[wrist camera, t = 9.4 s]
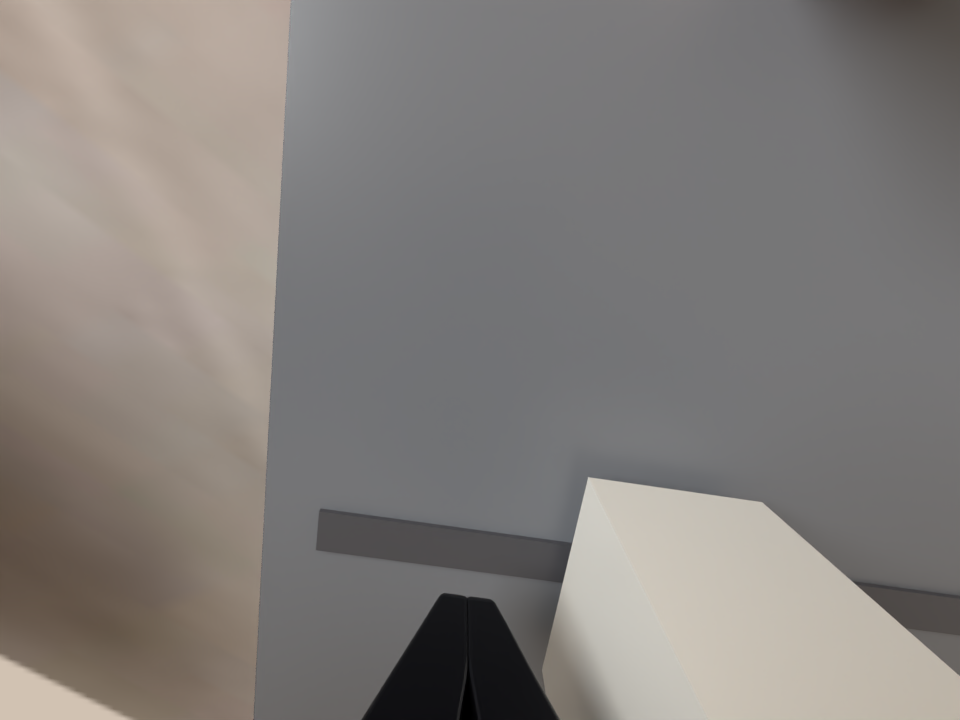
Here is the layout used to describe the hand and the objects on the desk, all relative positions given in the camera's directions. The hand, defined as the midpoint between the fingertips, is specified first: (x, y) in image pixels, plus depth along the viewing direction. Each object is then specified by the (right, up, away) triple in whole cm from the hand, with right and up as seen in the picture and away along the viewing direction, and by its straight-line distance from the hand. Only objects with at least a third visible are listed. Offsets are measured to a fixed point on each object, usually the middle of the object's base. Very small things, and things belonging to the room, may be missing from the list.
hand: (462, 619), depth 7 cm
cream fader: (+3, 0, +1) cm, 3 cm away
